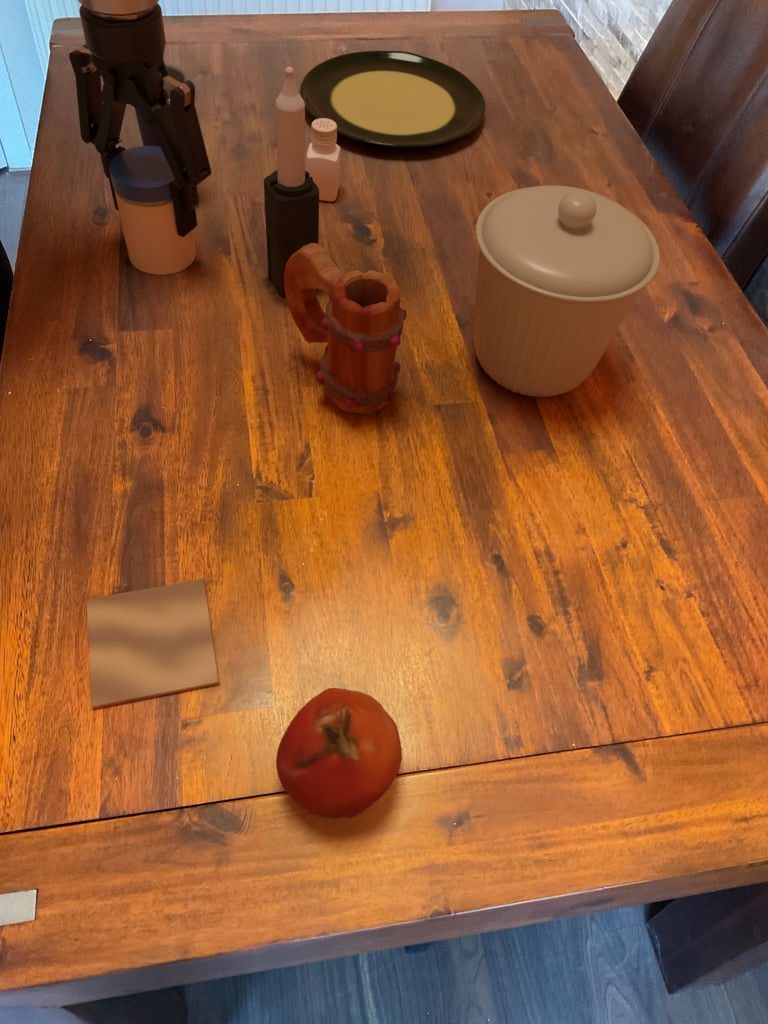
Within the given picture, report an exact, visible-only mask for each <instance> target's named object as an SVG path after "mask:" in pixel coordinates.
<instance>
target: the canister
mask: <svg viewBox="0 0 768 1024" xmlns="http://www.w3.org/2000/svg"><path fill="white" fill-rule="evenodd" d="M475 240H476V243H477V246H478V248H479V253H478V262H477V263H478V265H477V276H476V277H477V278H476V287H475V288H476V290H475V303H474V321H473V322H474V323H473V324H474V325H473V347H474V350H475V354H476V358H477V360H478V361H479V365H480V366H481V368H482V369H483V370H484V372H485V374H487V375H488V376H489V377H490V379H491V380H493V381H494V382H496V383H497V385H498V386H499V385H500V386H501V387H503V388H504V389H506V390H509V391H511V392H512V393H517V394H519V395H521V396H528V397H536V398H543V397H544V398H549V397H557V396H559V395H564V394H566V393H568V392H571V391H573V390H575V389H576V388H577V387H579V386H580V385H582V384H583V383H584V382H585V380H587V379H588V378H589V377H590V376H591V374H592V372H593V371H595V368H596V366H597V365H598V364H599V362H600V360H601V358H602V357H603V356H604V354H605V352H606V351H607V349H608V347H609V345H610V344H611V342H612V341H613V339H614V337H615V335H616V334H617V332H618V330H619V329H620V326H621V325H622V323H623V321H624V320H625V318H626V316H627V314H628V312H629V311H630V309H631V307H632V305H633V303H634V302H635V300H636V299H637V296H638V295H639V293H640V292H641V291H643V289H645V288H646V287H647V286H648V285H649V284H650V283H651V282H652V281H653V280H654V279H655V277H656V275H657V273H658V270H659V268H660V263H661V252H660V247H659V244H658V242H657V240H656V238H655V235H654V234H653V233H652V231H651V230H650V228H649V227H648V226H647V225H646V224H645V223H644V222H643V221H642V220H641V219H640V218H639V217H638V216H637V215H635V214H634V213H633V212H631V211H630V210H628V209H627V208H626V207H624V206H623V205H621V204H619V203H618V202H617V201H614V200H612V199H611V198H609V197H606V196H604V195H602V194H599V193H597V192H594V191H591V190H588V189H585V188H579V187H573V186H569V185H568V186H567V185H557V184H556V185H555V184H554V185H552V184H551V185H537V186H530V187H523V188H518V189H515V190H511V191H508V192H505V193H503V194H501V195H499V196H498V197H496V198H494V199H493V200H491V201H490V202H489V203H488V204H486V205H485V207H484V208H483V209H482V210H481V212H480V213H479V215H478V217H477V220H476V224H475Z"/></svg>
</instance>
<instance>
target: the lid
mask: <svg viewBox="0 0 768 1024" xmlns="http://www.w3.org/2000/svg"><path fill="white" fill-rule="evenodd" d="M184 170H185V168H184ZM109 171H110V176H111V180H112V185H113V188H114V190H115V191H116V192H117V193H118V194H119V195H121V196H122V197H124V198H126V199H129V200H132V201H136V202H143V203H154V202H161V201H166V200H169V199H171V198H172V192H171V185H170V183H171V182H172V181H174V180H175V177H174V175H173V173H172V171H171V169H170V167H169V165H168V162H167V160H166V158H165V156H164V154H163V152H162V150H161V148H160V147H158V146H143V145H141V146H133V147H130V148H126V150H124V151H122V152H120V153H119V154H117V155H116V156H115V157H114V158H113V159H112V160H111V162H110V165H109Z"/></svg>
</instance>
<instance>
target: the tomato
mask: <svg viewBox="0 0 768 1024" xmlns="http://www.w3.org/2000/svg"><path fill="white" fill-rule="evenodd" d="M276 751H277V752H276V759H275V764H276V765H275V767H276V772H277V776H278V779H279V782H280V784H281V786H282V788H283V790H284V791H285V792H286V793H287V795H288V797H290V799H291V800H293V802H295V804H296V805H298V806H299V807H300V808H302V809H304V810H306V811H307V812H309V813H312V814H313V815H315V816H319V817H322V818H327V819H333V820H334V819H335V820H336V819H353V818H354V817H357V816H359V815H360V814H362V813H364V812H365V811H366V810H368V809H369V808H370V807H372V806H373V805H374V804H376V802H378V801H379V800H380V799H381V798H382V797H383V796H384V795H386V793H387V792H388V791H389V790H390V788H392V786H393V784H394V782H395V779H396V778H397V776H398V773H399V771H400V769H401V764H402V759H403V754H402V753H403V752H402V751H403V750H402V744H401V738H400V733H399V729H398V726H397V724H396V721H395V720H394V719H393V718H392V716H391V715H390V714H389V713H388V712H387V711H386V709H385V708H384V707H383V706H382V704H381V703H380V702H379V701H378V700H377V699H376V698H374V697H373V696H372V695H369V694H367V693H365V692H362V691H359V690H358V691H357V690H351V689H346V688H340V687H329V688H326V689H324V690H322V691H321V692H320V693H318V694H316V695H314V696H313V697H312V698H311V699H310V700H309V701H308V702H306V703H305V704H304V705H303V706H302V707H301V709H299V710H298V711H297V713H296V714H295V716H294V717H293V718H292V720H291V721H290V723H289V725H288V726H287V728H286V729H285V732H284V733H283V735H282V738H281V739H280V742H279V744H278V748H277V750H276Z"/></svg>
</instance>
